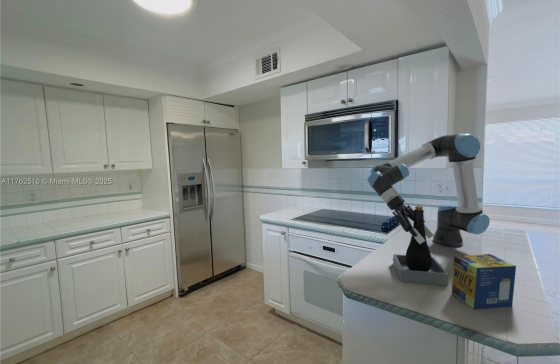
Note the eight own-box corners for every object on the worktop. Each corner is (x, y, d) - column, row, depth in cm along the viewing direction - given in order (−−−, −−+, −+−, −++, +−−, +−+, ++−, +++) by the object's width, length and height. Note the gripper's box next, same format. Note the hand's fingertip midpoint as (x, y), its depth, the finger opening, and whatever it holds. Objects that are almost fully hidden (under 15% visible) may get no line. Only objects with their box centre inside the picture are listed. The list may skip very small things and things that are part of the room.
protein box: (450, 293, 101) (453, 255, 99) (487, 291, 102) (490, 253, 100) (473, 310, 90) (476, 267, 89) (513, 307, 92) (517, 265, 90)
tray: (433, 267, 124) (434, 257, 123) (447, 286, 106) (448, 274, 106) (393, 263, 128) (393, 254, 127) (400, 281, 111) (400, 270, 110)
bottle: (429, 267, 120) (430, 204, 117) (434, 278, 110) (435, 209, 107) (404, 265, 124) (404, 203, 120) (406, 275, 114) (407, 209, 111)
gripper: (397, 201, 132) (429, 238, 122) (375, 207, 118) (409, 250, 108) (408, 191, 128) (443, 229, 118) (386, 197, 114) (423, 241, 103)
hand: (427, 239), depth 113 cm, fingers open, 9 cm apart
